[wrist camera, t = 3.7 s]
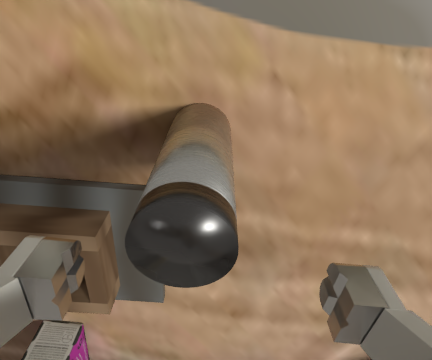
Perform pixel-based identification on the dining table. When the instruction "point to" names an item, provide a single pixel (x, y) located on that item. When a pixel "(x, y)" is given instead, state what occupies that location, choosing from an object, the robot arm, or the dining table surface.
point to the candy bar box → (58, 342)
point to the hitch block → (80, 233)
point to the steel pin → (188, 204)
